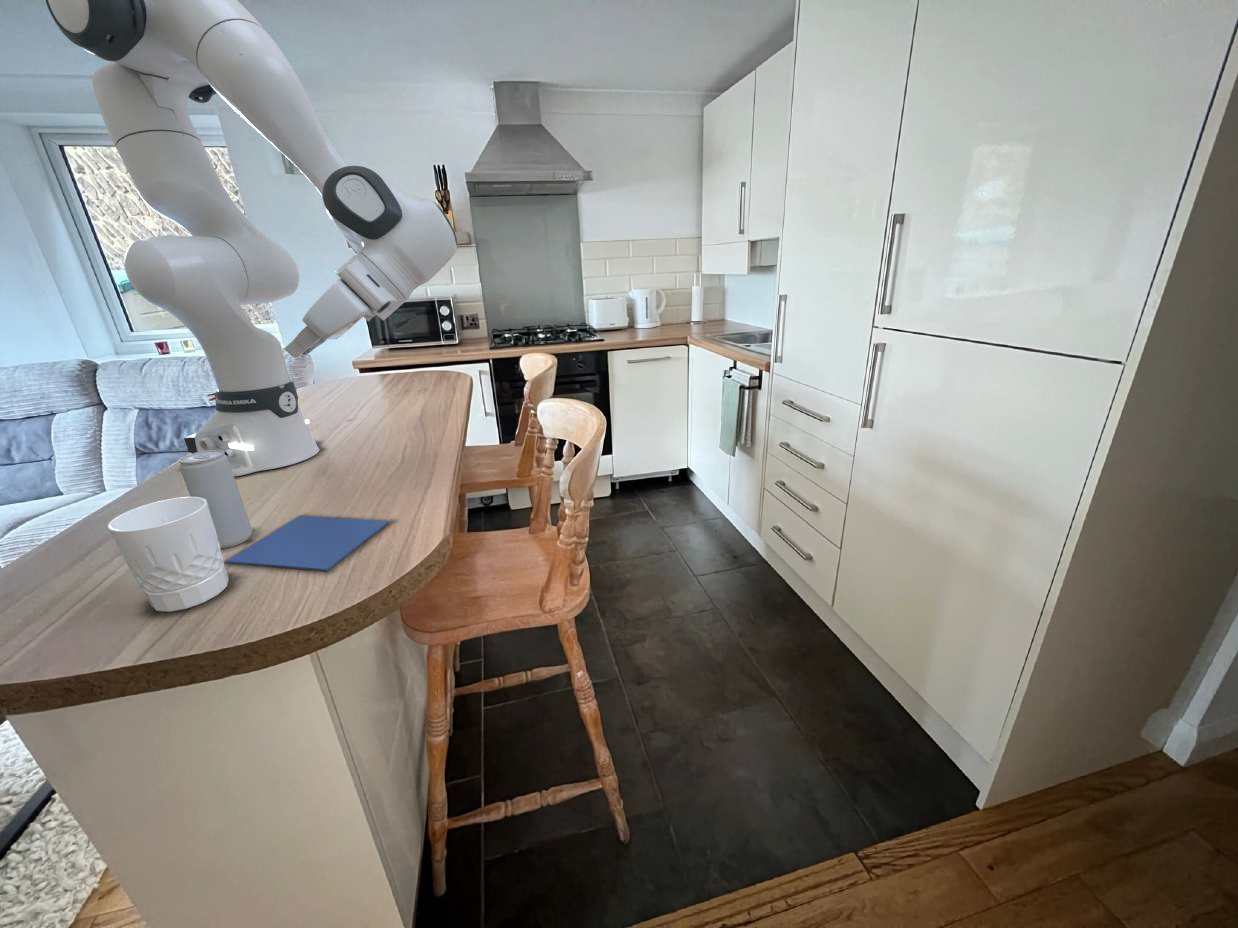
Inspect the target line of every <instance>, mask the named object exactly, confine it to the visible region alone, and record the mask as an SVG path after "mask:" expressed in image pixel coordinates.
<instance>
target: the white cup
mask: <svg viewBox="0 0 1238 928" xmlns="http://www.w3.org/2000/svg"><path fill="white" fill-rule="evenodd" d="M107 529H108V531H109V533H110V535H111V537H112V539H113V540H114V542H115V545H116V546H117V548H118V550H119V552H120V554H121V556H122V557H123V559H124V562H125V564H126V565H127V567H128V568H129V570H130V572H131V574H132V575H133V578H134V579H135V580H136V582H137V583H136V584H138V586H139V588H140V589H141V590H142V591H143V593H144V595H145V596H146V599H147V601H148V602H149V604H150V606H151V607H152V608H153V609H154V610H155V611H156V612H167V613H171V612H177V611H182V610H186V609H190V608H193V607H195V606H198V605H201V604H203V603H206V602H208V601H209V600H211V599H213V598H215V597H217V596H218V595H220V594H221V593H222V592H224V590H225V589H226V588H227V587H228V584H229V581H230V579H229V575H228V572H227V569H226V566H225V563H224V554H223V551H222V550H221V549H222V548H220V544H219V540H218V536H217V533H216V530H215V526H214V523H213V520H212V517H211V513H210V510H209V506H208V503H207V500H206V499H204V498H201V497H190V496H180V497H173V498H167V499H162V500H158V501H153V502H149V503H146V504H144V505H140V506H138V507H134V508H132V509H129V510H127V511H125V512H123V513H121V514H119V515H116V516H115V517H114V518H113V519H111V520H110V521H109V522H108V523H107Z"/></svg>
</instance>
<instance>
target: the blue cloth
mask: <svg viewBox="0 0 1238 928" xmlns="http://www.w3.org/2000/svg"><path fill="white" fill-rule="evenodd" d="M388 524H389V521H387V520H372V519H358V518H357V519H356V518H341V517H326V516H325V517H324V516H310V515H309V516H308V515H307V516H305V515H300V516H298V517H297V518H295V519H293V520H291V521H290V522H288V523H286V524H285V525H283V526H281V527H280V528H278V529H277V530H275V531H273V532H272V533H269V534H268V535H266V536H264V537H263V538H261V539H260V540H258V541H256V542H254V543H253V544H252V545H249V546H248V547H246V548H244V549H242V551H240V552H238V553H236V554H235V555H233V556H232V557H229V558H228V559H227V560H225V561H226V563H227V564H239V565H249V566H260V567H261V566H262V567H273V568H274V567H275V568H285V569H297V570H298V569H299V570H307V571H308V570H309V571H321V572H328V571H329V570H331V569H332V568H333V567H334V566H336V565H337V564H338V563H339V562H341V561H342V560H344V558H346V557H348V555H350V554H351V553H352V552H353V551H355V550H356V549H357V548H359V547H360V546H361V545H362V544H364V543H365V542H366V541H368V540H370V538H372V536H374V535H375V534H377V533H378V532H379V531H380V530H382V529H383V528H384V527H385V526H387V525H388Z"/></svg>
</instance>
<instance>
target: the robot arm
mask: <svg viewBox="0 0 1238 928" xmlns="http://www.w3.org/2000/svg"><path fill="white" fill-rule="evenodd" d="M45 3H46V6H47V9H48V11H49V13H50V16H51V17H52V19H53V21H54V22H55V25H56V26H57V27H58V29H59V30H60V32H61V33H62V34H63V36H65V38H67V39H68V41H70V42H72V43H73V45H75V46H77V47H79V48H81V49H83V51H86V52H87V53H89V54H91V55H93V56H95V57H98V58H99V59H102V60H105V61H107V62H106V63H103V64H102V65H99V66H98V67H97V68H96V69H95V70H94V72H93V75H92V78H91V79H92V80H91V82H92V88H93V92H94V95H95V99H96V102H97V105H98V107H99V112H100V114H101V117H102V120H103V122H104V125H105V127H106V130H107V132H108V134H109V137H110V139H111V141H112V143H113V145H114V147H115V149H116V151H117V153H118V155H119V157H120V159H121V161H122V163H123V165H124V167H125V169H126V171H127V173H128V175H129V176H130V178H131V180H132V183H133V185H134V187H135V189H136V190H137V193H138V195H139V196H140V197H141V198H140V199H142V200H143V202H144V203H145V204H146V205H147V206H148V207H149V208H151V210H153V211H154V212H156V213H158V214H159V215H161V216H162V217H164V218H166V219H169V220H171V221H173V222H174V223H176V224H177V225H179V226H180V227H181V228H182V229H184V230H185V231H186V232H187V233H188V234H189V235H180V234H179V235H177V234H174V235H173V234H165V235H159V236H153V237H147V238H142V239H137V240H134V241H133V242H132V243H131V244H130V245H129V246H128V248H127V249H126V252H125V254H124V263H123V264H124V270H125V271H124V272H125V274H126V277H127V279H128V281H129V283H130V284H131V286H132V288H133V289H134V290H135V291H136V292H137V293H138V295H140V296H141V297H142V298H144V299H145V300H146V301H148V302H149V303H151V304H152V305H155V306H157V307H158V308H161V309H163V310H164V311H166V312H168V313H169V314H171V316H174V317H175V318H176V319H177V320H179V321H180V322H181V323H182V325H184V326H185V327H186V328H187V330H188V331H190V332H191V334H192V335H193V336H194V337H195V339H196V340H197V342H198V343H199V345H200V347H201V349H202V350H203V353H204V355H205V357H206V359H207V362H208V365H209V368H210V370H211V373H212V375H213V379H214V381H215V384H216V387H217V390H216V392H214V393H209V394H207V395H206V396H207V397H211V396H213V397H211V398H209V399H208V401H209V402H213V401H215V410H216V411H215V412H214V413H213V414H212V415H211V416H210V418H209V419H207V421H206V422H205V423H204V424H203V425H202V426H201V427H200V428H199V429H198V430H197V431H196V432H195V433H193V434H190V435H187V436H185V437H183V441H184V444H185V446H186V449H187V452H188V453H190V454H193V453H197V452H201V451H207V450H223V451H224V452H225V454H224V455H226V456H227V457H228V460H229V463H230V466H231V469H232V472H233V475H234V477H239V476H244V475H248V474H253V473H256V472H263V471H267V470H274V469H279V468H283V467H287V466H291V465H295V464H297V463H298V464H299V463H300V462H303V461H306V460H308V459H310V458H312V457H315V455H317V454H318V453H319V452H320V447H319V446H318V445H317V441H316V439H315V438H314V437H313V435H312V433H311V431H310V429H309V426H308V424H310V420H309V419H305V416H304V414H303V411H302V409H301V407H300V406H299V395H298V392H297V391H298V390H297V387H296V385H295V382H294V381H293V380H292V379H291V378H290V373H289V370H288V369H289V368H288V366H287V363H286V358H285V354H284V352H283V348H282V344H281V342H280V341H279V340H278V338H277V337H276V336H275V335H274V334H272V333H271V332H269V331H266V330H265V329H263V328H259V327H257V326H256V325H255V324H253V323H252V322H251V321H250V320H249V317H247V315H246V314H245V312H244V310H243V308H242V306H248V305H249V306H250V305H261V304H263V305H264V304H270V303H273V302H277V301H280V300H282V299H286V298H288V297H290V296H292V295H293V294H295V292H296V291H297V290H298V286H299V282H300V273H299V269H298V266H297V263H296V261H295V259H294V258H293V257H292V255H291V253H289V252H288V250H287V249H286V248H284V247H283V246H281V245H279V244H278V243H277V242H275V241H273V240H272V239H270V238H268V237H267V236H266V235H265V234H264V233H262V232H261V231H260V230H259V229H258V228H257V227H256V226H255V225H254V224H253V223H252V222H251V221H250V220H249V218H247V217H246V216H245V214H244V213H243V212H242V211H241V210H240V209H239V207H238V206H237V205H236V204H235V202H234V201H233V200H232V198H231V197H230V195H229V193H228V192H227V191H226V189H225V187H224V185H223V183H222V180H221V179H220V178H219V175H218V174H217V172H216V169H215V168H214V166H213V164H212V161H211V159H210V157H209V155H208V153H207V151H206V149H205V147H204V145H203V142H202V140H201V138H200V136H199V134H198V133H197V130H196V128H195V126H194V123H193V122H192V120H191V118H190V115H189V111H188V100H189V99H190V100H191V101H193V102H196V103H199V104H206V103H208V102H209V101H211V100H212V98H213V96H215V95H218V96H220V98H222V100H223V101H225V103H227V104H228V105H229V106H230V108H232V109H233V110H234V112H236V113H237V114H238V115H240V117H241V118H243V119H244V120H245V121H246V122H247V123H248V124H249V125H250V126H251V127H252V128H253V129H255V130H256V131H257V132H258V133H259V134H260V135H261V136H262V137H264V138H265V139H266V140H267V141H268V142H269V143H270V144H271V145H273V146H274V147H275V148H276V149H277V151H279V152H280V153H281V154H282V155H283V156H285V157H286V159H288V160H289V161H290V162H291V164H293V165H294V166H295V167H296V168H297V169H298V170H299V172H301V173H302V174H303V175H304V176H305V178H306V179H307V180H308V181H309V182H310V183H311V185H312V186H313V187H314V188H315V189H316V191H317V192H318V193H319V194H320V195H321V198H322V203H323V206H324V208H325V210H326V213H327V215H328V216H329V219H331V221H332V222H333V223H334V225H335V226H336V228H337V229H338V230H339V231H340V233H341V235H342V236H343V237H344V238H345V239H346V241H347V242H348V243H349V246H350V247H351V248H352V250H353V252H354V255H353V256H352V257H350V258H349V259H348V260H347V261H345V262H344V264H342V265H341V266H340V267H339V268H337V269H336V270H335V271H334V273H335V275H336V276H337V277H338V278H339V279H337V280H336V281H335V282H334V283H332V285H331V286H329V287H328V289H327V290H325V292H324V293H322V295H321V296H320V297H319V298H318V299H317V300H316V301H315V302H314V303H313V304H312V305H311V306H310V307H309V309H308V310H307V312H306V313H305V314H304V315H303V317H302V322H303V323H304V324H305V325H306V326H305V327H304V328H303V329H301V331H299V333H298V334H297V335H296V336H295V337H294V339H293V340H291V341H290V342H289V343H288V344H287V345H286V346H285V348H284V350H285V352H287V353H288V354H289V355H290V356H292V358H299V357H300V356H301V355H302V356H308V355H310V354H311V353H312V352H313V351H315V349H316V348H318V347H319V346H321V345H323V344H324V343H326V341H328V340H339V338H341V337H342V336H344V335H345V334H346V333H347V332H348V331H349V330H350V329H351V328H352V327H354V325H356V324H357V323H358V322H359V321H360V320H362V318H364V320H366V321H367V322H370V321H371V320H372V319H373V318H374V317H376V316H378V318H380V319H381V320H382V321H385V320H386V319H387V318H389V316H391V315H392V314H393V313H394V312H395V311H397V310H398V308H400V307H401V306H402V305H403V304H404V303H405V302H406V301H408V300H409V298H410V297H411V295H412V293H413V292H414V291H415V290H416V289H417V288H418V287H420V286H422V285H424V284H426V283H428V282H429V281H430V280H431V279H433V278H434V277H435V276H436V275H437V274H438V273H439V272H440V271H441V270H442V269H443V268H444V267H445V266H446V265H447V263H449V261H451V259H452V258H453V257H454V255H455V253H456V252H457V250H458V237H457V234H456V232H455V229H454V227H453V226H452V223H451V221H450V219H449V218H448V217H447V215H446V213H445V211H444V210H443V209H442V208H441V207H440V205H438V204H437V203H436V202H435V201H434V200H432V199H430V198H426V197H419V196H415V195H412V194H410V193H407V192H406V191H404V190H402V189H400V188H398V186H397V187H396V186H395V185H393V184H392V183H390V182H389V181H387V180H386V179H384V178H383V177H381V176H380V175H379V174H378V173H377V172H375V171H374V170H373V169H370V168H368V167H366V166H361V165H347V164H346V163H345V161H344V160H343V159H342V158H341V156H340V155H339V154H338V152H337V150H336V149H335V147H334V146H333V144H332V142H331V140H330V138H329V137H328V134H327V133H326V131H325V129H324V127H323V125H322V123H321V121H320V119H319V116H318V114H317V113H316V111H315V108H314V107H313V105H312V103H311V100H310V98H309V96H308V94H307V92H306V89H305V88H304V86H303V84H302V83H301V80H300V79H299V77H298V75H297V73H296V71H295V70H294V68H293V66H292V65H291V63H290V61H289V60H288V58H287V57H286V56H285V54H284V52H283V51H282V50H281V48H280V47H279V45H278V44H277V42H275V40H274V39H273V38H272V37H271V35H270V34H269V32H268V31H267V30H266V29H265V28H264V27H263V26H262V25H261V23H260V22H259V21H258V20H257V19H256V18H255V16H253V15H252V13H251V12H250V11H249V10H248V9H247V8H246V7H245V6H244V5H243V4H241V2H240V1H239V0H45Z"/></svg>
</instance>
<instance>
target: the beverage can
mask: <svg viewBox="0 0 1238 928" xmlns="http://www.w3.org/2000/svg"><path fill="white" fill-rule="evenodd" d="M224 454H225V452H224V451H223V450H207V451H201V452H197V453H193V454H192V453H190V454H187V455H184V456H181V457H180V458H179V459H178V463H179V465H178V468H179V470H180V473H181V475H182V478H183V480H184V483H185V486H186V489H187V491H188V494H189V497H201V498H204V499H206V500H207V503H208V506H209V510H210V513H211V517H212V520H213V523H214V526H215V530H216V533H217V536H218V540H219V544H220V549H227V548H232V547H236V546H238V545H241V544H243V543H245V542H246V541H248V540H249V539H250V538H251V536H252V534H253V529H252V525H251V522H250V520H249V516H248V514H247V510H246V507H245V505H244V502H243V499H242V496H241V493H240V490H239V487H238V484H237V481H236V478H235V476H234V475H233V472H232V469H231V466H230V463H229V460H228V457H227V456H226V455H224Z"/></svg>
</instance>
